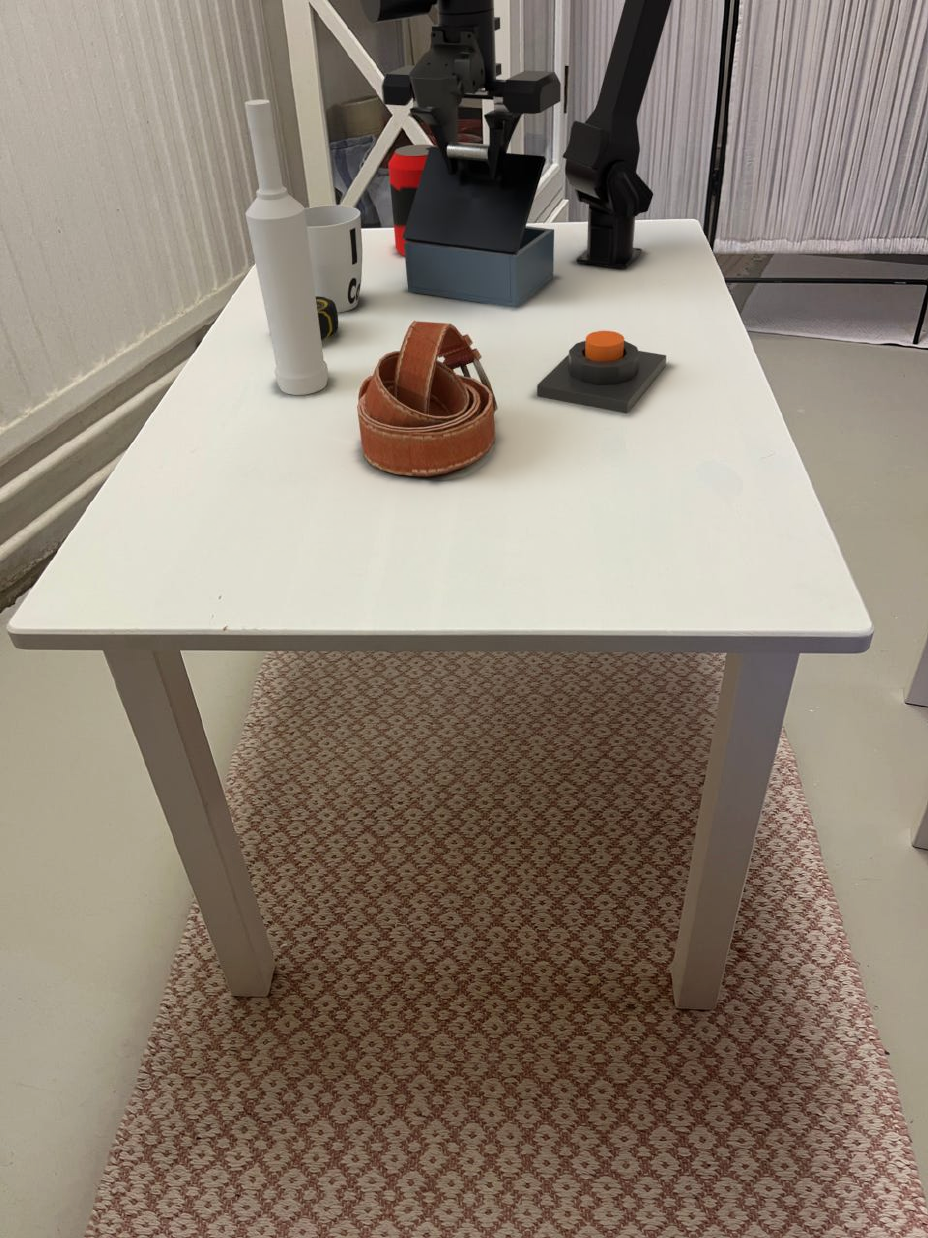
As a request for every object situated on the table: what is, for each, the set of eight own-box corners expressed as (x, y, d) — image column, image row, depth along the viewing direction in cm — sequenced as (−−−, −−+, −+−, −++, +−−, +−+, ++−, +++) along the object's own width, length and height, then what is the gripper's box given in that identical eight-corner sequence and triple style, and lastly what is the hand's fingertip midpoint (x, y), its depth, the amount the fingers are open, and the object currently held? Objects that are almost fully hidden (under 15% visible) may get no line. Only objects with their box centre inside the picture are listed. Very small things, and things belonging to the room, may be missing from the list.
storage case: (449, 263, 118) (446, 216, 114) (553, 277, 112) (554, 229, 108) (407, 291, 111) (403, 242, 107) (516, 308, 105) (516, 257, 102)
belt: (530, 426, 83) (530, 318, 77) (450, 493, 75) (443, 378, 69) (406, 394, 89) (397, 291, 83) (320, 453, 81) (302, 343, 75)
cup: (366, 316, 105) (355, 225, 99) (295, 319, 105) (280, 228, 99) (373, 290, 111) (363, 203, 105) (306, 293, 112) (293, 206, 105)
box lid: (432, 149, 107) (415, 125, 103) (546, 159, 102) (533, 133, 97) (404, 240, 107) (386, 219, 103) (517, 254, 102) (502, 233, 97)
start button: (593, 345, 90) (594, 327, 89) (628, 351, 89) (629, 333, 88) (579, 359, 88) (579, 342, 87) (615, 366, 86) (616, 348, 85)
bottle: (320, 397, 90) (275, 108, 74) (269, 394, 91) (215, 108, 75) (336, 374, 94) (297, 95, 78) (287, 371, 95) (239, 95, 79)
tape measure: (329, 321, 105) (325, 288, 102) (348, 342, 100) (344, 308, 97) (270, 333, 103) (264, 299, 100) (287, 355, 98) (281, 321, 95)
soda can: (458, 254, 120) (454, 153, 112) (401, 261, 119) (392, 160, 111) (446, 237, 126) (440, 139, 118) (391, 243, 125) (382, 146, 117)
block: (581, 352, 95) (582, 323, 93) (665, 366, 92) (668, 337, 90) (536, 396, 88) (536, 367, 86) (626, 414, 84) (629, 383, 82)
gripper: (343, 22, 91) (363, 189, 101) (514, 26, 84) (517, 206, 94) (401, 3, 98) (415, 161, 109) (563, 5, 91) (561, 175, 101)
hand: (473, 175), depth 103 cm, fingers closed on box lid, 5 cm apart
